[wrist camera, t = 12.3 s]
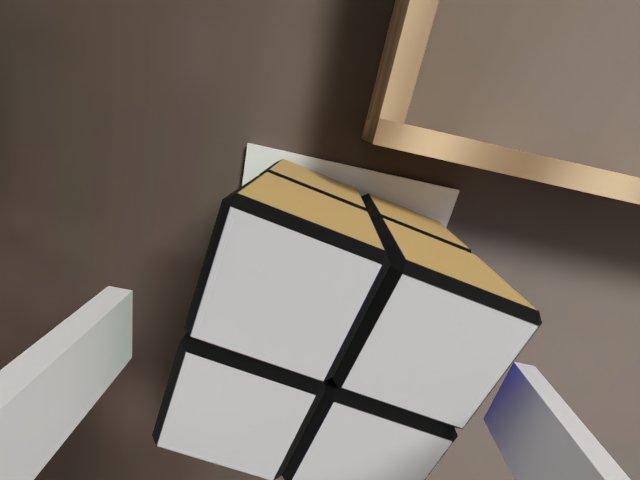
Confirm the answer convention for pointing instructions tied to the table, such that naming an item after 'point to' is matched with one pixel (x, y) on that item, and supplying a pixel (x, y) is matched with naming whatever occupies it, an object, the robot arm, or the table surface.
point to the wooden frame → (390, 131)
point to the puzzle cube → (335, 336)
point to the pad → (362, 181)
